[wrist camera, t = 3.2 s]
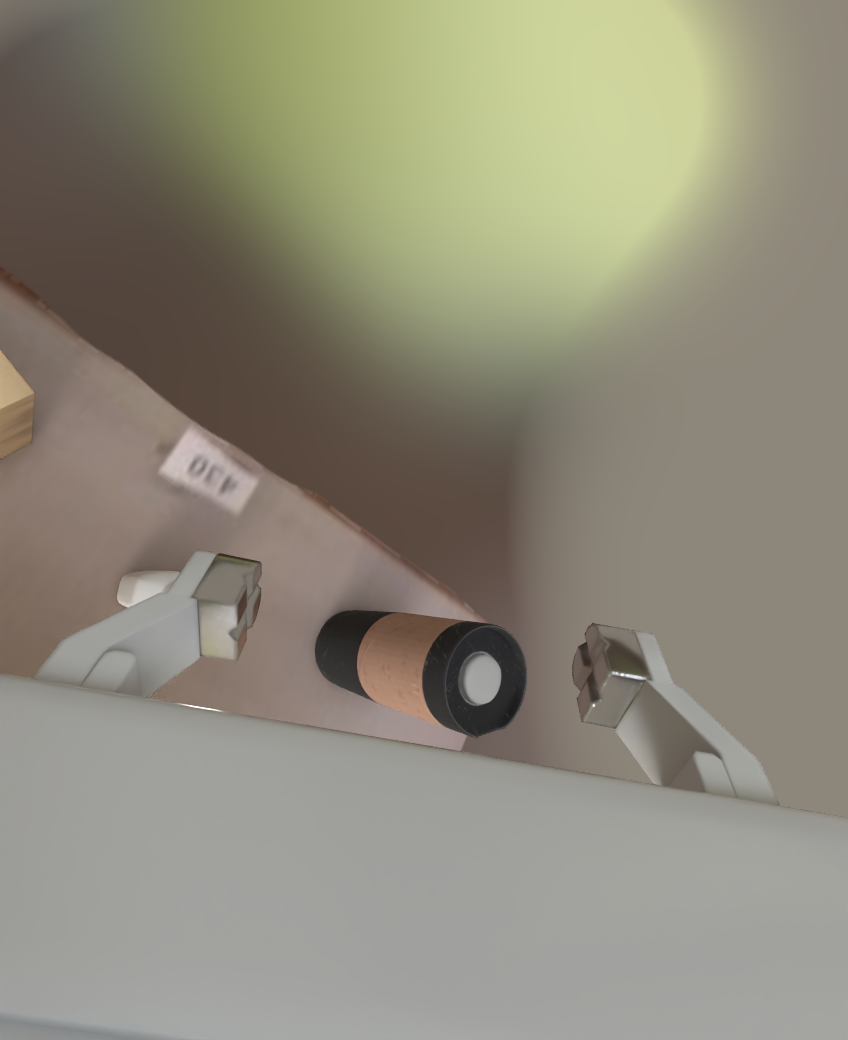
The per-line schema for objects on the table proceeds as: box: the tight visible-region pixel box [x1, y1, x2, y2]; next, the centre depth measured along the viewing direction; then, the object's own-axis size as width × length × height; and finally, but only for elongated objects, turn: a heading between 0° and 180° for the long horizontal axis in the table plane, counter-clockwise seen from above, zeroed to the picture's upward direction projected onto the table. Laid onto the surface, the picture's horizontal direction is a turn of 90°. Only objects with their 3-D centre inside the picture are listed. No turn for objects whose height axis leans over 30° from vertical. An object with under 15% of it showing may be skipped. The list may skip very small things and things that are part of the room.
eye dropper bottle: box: [117, 571, 180, 608], centre depth 40 cm, size 4×6×12 cm
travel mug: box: [315, 610, 527, 738], centre depth 46 cm, size 8×8×20 cm
